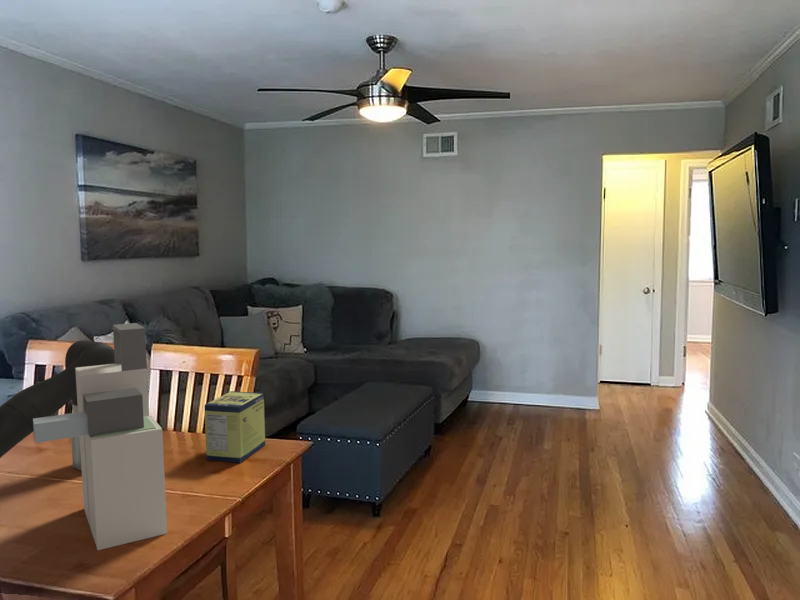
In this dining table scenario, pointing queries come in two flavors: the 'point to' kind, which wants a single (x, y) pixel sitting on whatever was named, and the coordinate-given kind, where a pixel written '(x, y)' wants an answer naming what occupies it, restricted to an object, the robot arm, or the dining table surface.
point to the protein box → (234, 426)
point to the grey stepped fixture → (123, 453)
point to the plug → (94, 416)
